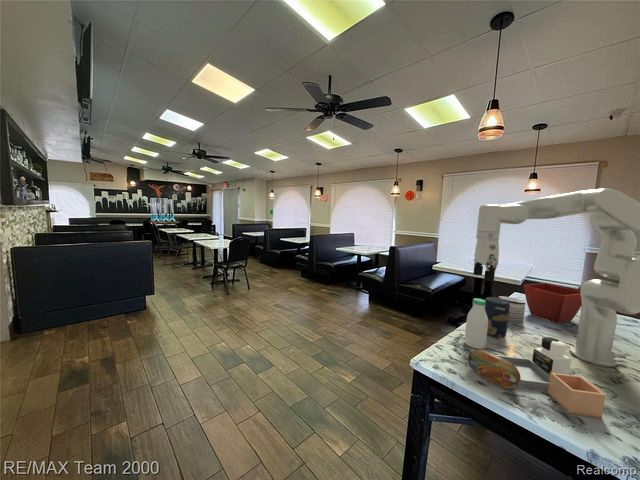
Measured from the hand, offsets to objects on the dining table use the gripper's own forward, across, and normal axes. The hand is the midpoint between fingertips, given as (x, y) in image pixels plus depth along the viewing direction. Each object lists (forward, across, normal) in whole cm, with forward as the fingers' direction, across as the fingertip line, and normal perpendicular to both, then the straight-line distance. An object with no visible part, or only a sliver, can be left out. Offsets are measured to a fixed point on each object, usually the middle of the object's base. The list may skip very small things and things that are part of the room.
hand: (482, 277), depth 100 cm
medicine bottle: (+30, -11, -20) cm, 38 cm away
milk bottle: (+30, +3, -1) cm, 30 cm away
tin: (+30, -21, +3) cm, 37 cm away
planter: (+30, -28, -15) cm, 44 cm away
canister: (+30, +15, -14) cm, 36 cm away
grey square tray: (+30, -16, -8) cm, 35 cm away
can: (+30, +36, -31) cm, 57 cm away
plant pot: (+30, +46, -56) cm, 78 cm away
